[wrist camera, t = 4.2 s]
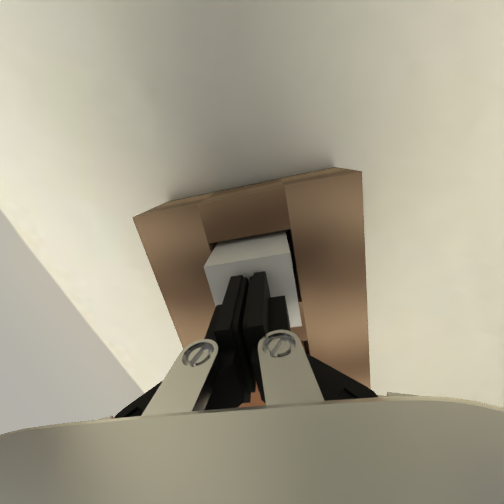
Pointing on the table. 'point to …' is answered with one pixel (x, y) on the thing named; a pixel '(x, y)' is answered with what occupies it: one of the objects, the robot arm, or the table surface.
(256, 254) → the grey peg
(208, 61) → the table surface
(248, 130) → the table surface
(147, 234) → the socket board
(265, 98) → the table surface
